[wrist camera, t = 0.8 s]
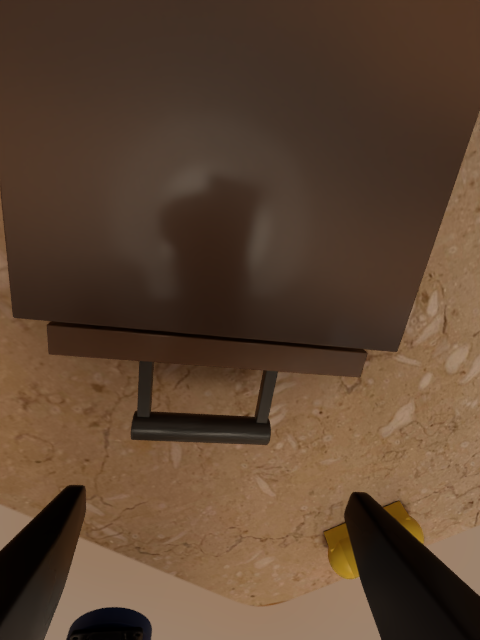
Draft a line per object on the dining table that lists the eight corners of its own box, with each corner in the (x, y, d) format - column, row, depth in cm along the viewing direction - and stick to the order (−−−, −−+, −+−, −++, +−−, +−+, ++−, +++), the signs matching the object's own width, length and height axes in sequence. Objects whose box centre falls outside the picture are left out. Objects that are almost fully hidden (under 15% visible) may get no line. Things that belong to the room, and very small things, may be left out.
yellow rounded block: (327, 552, 29) (342, 592, 26) (317, 533, 28) (331, 572, 25) (411, 518, 29) (435, 555, 26) (404, 497, 28) (428, 533, 25)
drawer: (292, 399, 22) (329, 480, 16) (101, 387, 20) (55, 474, 14) (370, 61, 15) (487, -34, 9) (101, -3, 14) (13, -180, 7)
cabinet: (320, 292, 20) (397, 352, 12) (95, 266, 18) (12, 318, 10) (389, 2, 15) (590, -210, 7) (93, -79, 13) (-70, -494, 5)
